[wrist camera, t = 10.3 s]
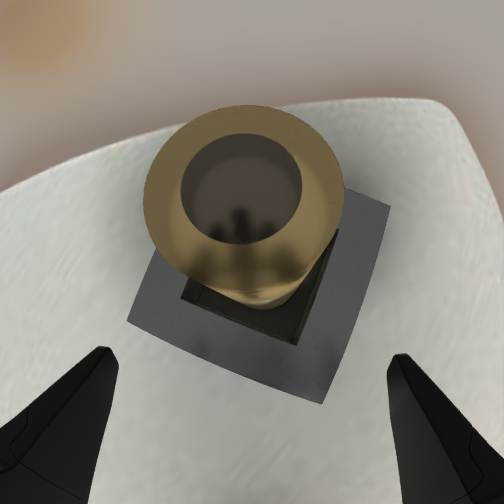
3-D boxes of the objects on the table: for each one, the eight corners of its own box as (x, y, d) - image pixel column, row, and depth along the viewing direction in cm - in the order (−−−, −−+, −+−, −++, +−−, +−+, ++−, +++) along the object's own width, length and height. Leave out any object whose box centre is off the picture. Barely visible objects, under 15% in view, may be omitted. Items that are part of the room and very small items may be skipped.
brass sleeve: (313, 281, 19) (385, 204, 6) (255, 324, 18) (213, 334, 6) (270, 226, 20) (260, 79, 7) (214, 267, 19) (113, 174, 7)
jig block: (373, 224, 19) (390, 206, 16) (313, 389, 17) (321, 404, 14) (217, 169, 21) (207, 143, 17) (150, 321, 19) (126, 320, 16)
